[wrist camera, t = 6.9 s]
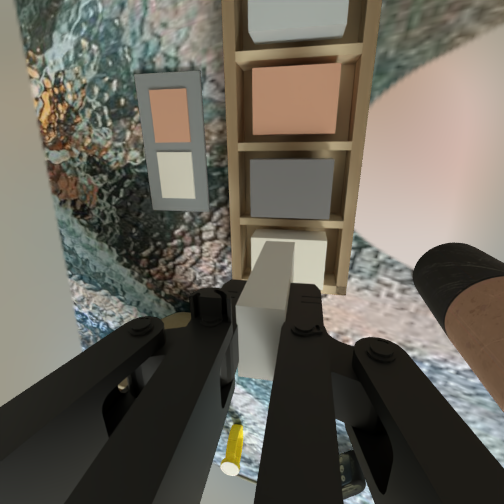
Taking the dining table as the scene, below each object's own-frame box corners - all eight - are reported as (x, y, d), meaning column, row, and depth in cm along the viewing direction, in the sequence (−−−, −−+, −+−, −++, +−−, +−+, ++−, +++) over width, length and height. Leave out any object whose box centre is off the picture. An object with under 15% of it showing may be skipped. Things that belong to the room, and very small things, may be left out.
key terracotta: (258, 135, 27) (252, 134, 25) (258, 76, 26) (252, 68, 23) (332, 134, 26) (335, 133, 23) (337, 71, 24) (341, 62, 22)
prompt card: (154, 209, 34) (152, 210, 33) (135, 74, 29) (133, 73, 28) (209, 211, 33) (208, 212, 32) (200, 71, 28) (198, 69, 27)
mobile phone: (358, 480, 38) (275, 511, 43) (372, 493, 38) (288, 523, 43) (352, 444, 42) (277, 476, 48) (364, 456, 43) (289, 487, 48)
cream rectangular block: (256, 272, 31) (251, 284, 28) (256, 228, 29) (250, 237, 27) (321, 276, 30) (322, 290, 27) (325, 231, 28) (327, 241, 25)
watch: (230, 415, 45) (219, 450, 39) (247, 418, 44) (238, 454, 39) (231, 443, 47) (220, 481, 41) (247, 446, 46) (239, 485, 40)
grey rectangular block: (256, 209, 29) (250, 216, 26) (255, 157, 27) (249, 159, 24) (327, 211, 27) (329, 219, 25) (331, 157, 26) (334, 159, 23)
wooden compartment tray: (240, 271, 35) (232, 286, 31) (232, -32, 24) (218, -63, 21) (341, 278, 33) (345, 295, 29) (378, -50, 22) (393, -89, 19)
